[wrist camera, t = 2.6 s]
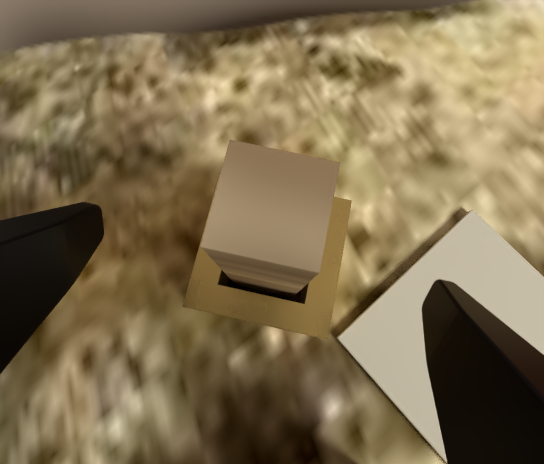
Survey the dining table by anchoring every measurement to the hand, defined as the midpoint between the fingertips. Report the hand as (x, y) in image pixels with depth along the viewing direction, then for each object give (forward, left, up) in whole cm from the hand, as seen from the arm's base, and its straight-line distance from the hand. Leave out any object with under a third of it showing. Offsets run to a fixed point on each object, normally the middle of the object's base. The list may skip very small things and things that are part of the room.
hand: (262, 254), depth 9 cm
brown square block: (+1, +1, -9) cm, 9 cm away
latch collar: (+1, +1, -9) cm, 9 cm away
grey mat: (+6, -9, -9) cm, 14 cm away
